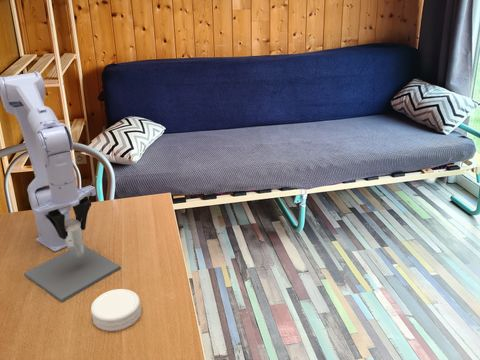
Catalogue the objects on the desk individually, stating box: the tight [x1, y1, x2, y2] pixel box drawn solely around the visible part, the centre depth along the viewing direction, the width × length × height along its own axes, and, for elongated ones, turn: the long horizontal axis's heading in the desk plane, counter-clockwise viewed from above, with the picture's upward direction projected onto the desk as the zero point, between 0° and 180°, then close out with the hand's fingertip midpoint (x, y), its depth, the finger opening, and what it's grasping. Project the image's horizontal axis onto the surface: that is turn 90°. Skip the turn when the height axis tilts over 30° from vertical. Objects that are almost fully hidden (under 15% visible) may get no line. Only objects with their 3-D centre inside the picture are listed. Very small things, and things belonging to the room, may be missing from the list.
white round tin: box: [90, 288, 142, 332], centre depth 106 cm, size 10×10×4 cm
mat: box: [23, 244, 122, 303], centre depth 121 cm, size 16×16×1 cm
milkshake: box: [65, 218, 85, 258], centre depth 118 cm, size 4×5×10 cm
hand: (72, 232), depth 117 cm, fingers closed on milkshake, 4 cm apart
